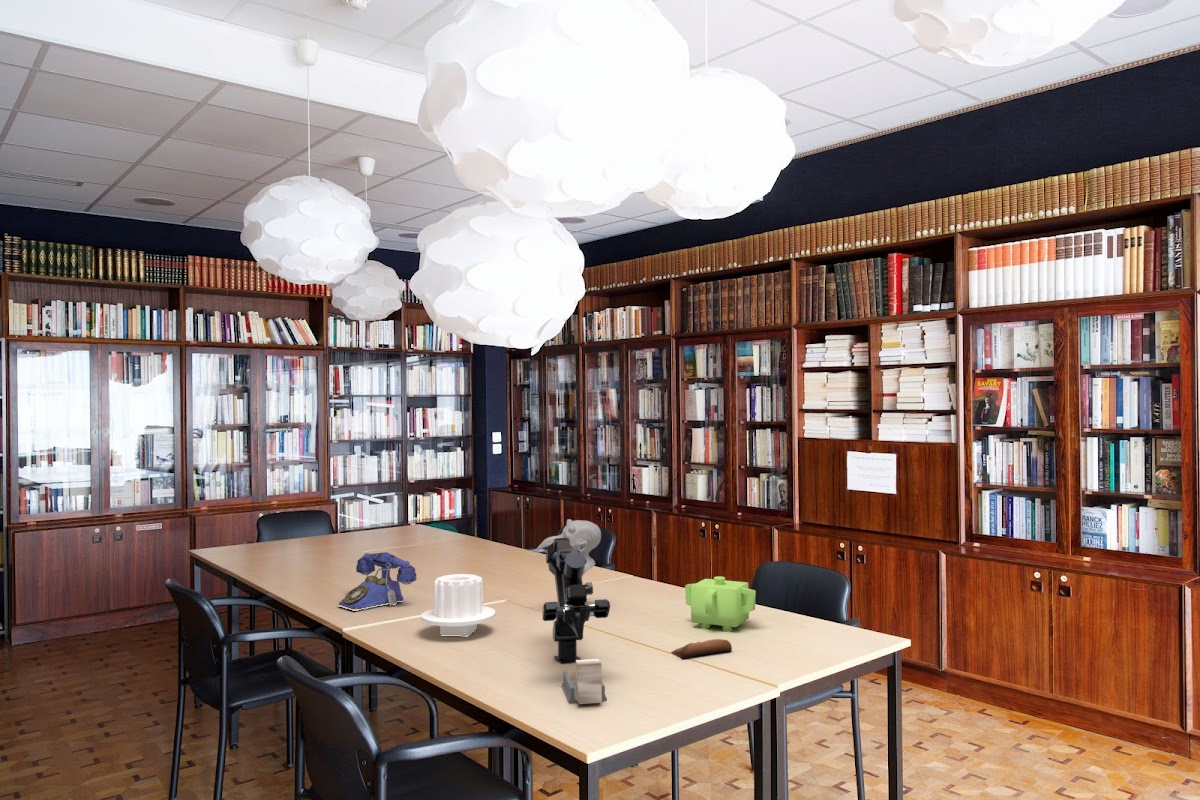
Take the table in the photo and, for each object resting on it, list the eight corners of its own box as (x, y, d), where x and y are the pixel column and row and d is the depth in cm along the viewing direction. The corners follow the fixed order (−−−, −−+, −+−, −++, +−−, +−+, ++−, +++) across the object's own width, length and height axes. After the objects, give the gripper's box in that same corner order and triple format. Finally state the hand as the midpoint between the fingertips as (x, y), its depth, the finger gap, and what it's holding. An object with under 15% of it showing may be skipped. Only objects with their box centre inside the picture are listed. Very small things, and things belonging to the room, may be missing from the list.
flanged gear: (481, 644, 271) (480, 586, 271) (409, 641, 276) (408, 584, 276) (504, 625, 296) (504, 572, 296) (438, 622, 301) (438, 570, 301)
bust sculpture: (541, 607, 322) (540, 516, 323) (603, 607, 321) (602, 516, 322) (535, 617, 306) (534, 522, 307) (600, 617, 305) (599, 522, 305)
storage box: (674, 629, 287) (674, 579, 288) (698, 615, 307) (697, 568, 308) (744, 638, 276) (743, 586, 276) (764, 622, 296) (763, 574, 296)
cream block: (576, 698, 216) (575, 660, 216) (599, 697, 217) (598, 658, 217) (578, 704, 212) (578, 664, 212) (601, 702, 213) (601, 663, 214)
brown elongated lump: (717, 645, 267) (723, 629, 264) (728, 661, 262) (734, 645, 259) (668, 652, 260) (673, 636, 257) (678, 669, 254) (684, 653, 251)
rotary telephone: (315, 601, 337) (315, 552, 337) (368, 591, 355) (367, 544, 355) (371, 618, 309) (370, 564, 309) (425, 606, 326) (424, 555, 327)
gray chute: (561, 685, 229) (561, 672, 229) (597, 683, 231) (597, 669, 231) (568, 703, 216) (568, 688, 216) (606, 700, 217) (606, 685, 217)
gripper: (543, 573, 233) (548, 623, 222) (608, 570, 237) (616, 619, 226) (540, 595, 241) (545, 644, 230) (603, 592, 244) (611, 640, 233)
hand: (579, 636), depth 229 cm, fingers closed
